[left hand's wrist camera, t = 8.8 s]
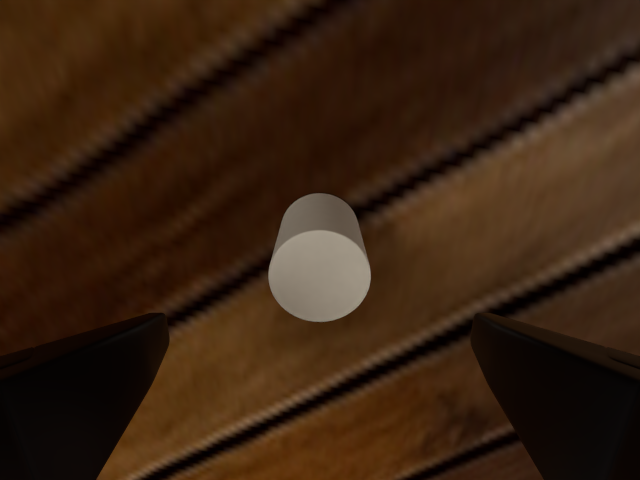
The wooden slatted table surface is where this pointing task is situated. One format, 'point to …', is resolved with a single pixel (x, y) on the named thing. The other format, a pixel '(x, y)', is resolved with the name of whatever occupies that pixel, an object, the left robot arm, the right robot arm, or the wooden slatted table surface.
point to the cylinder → (319, 260)
